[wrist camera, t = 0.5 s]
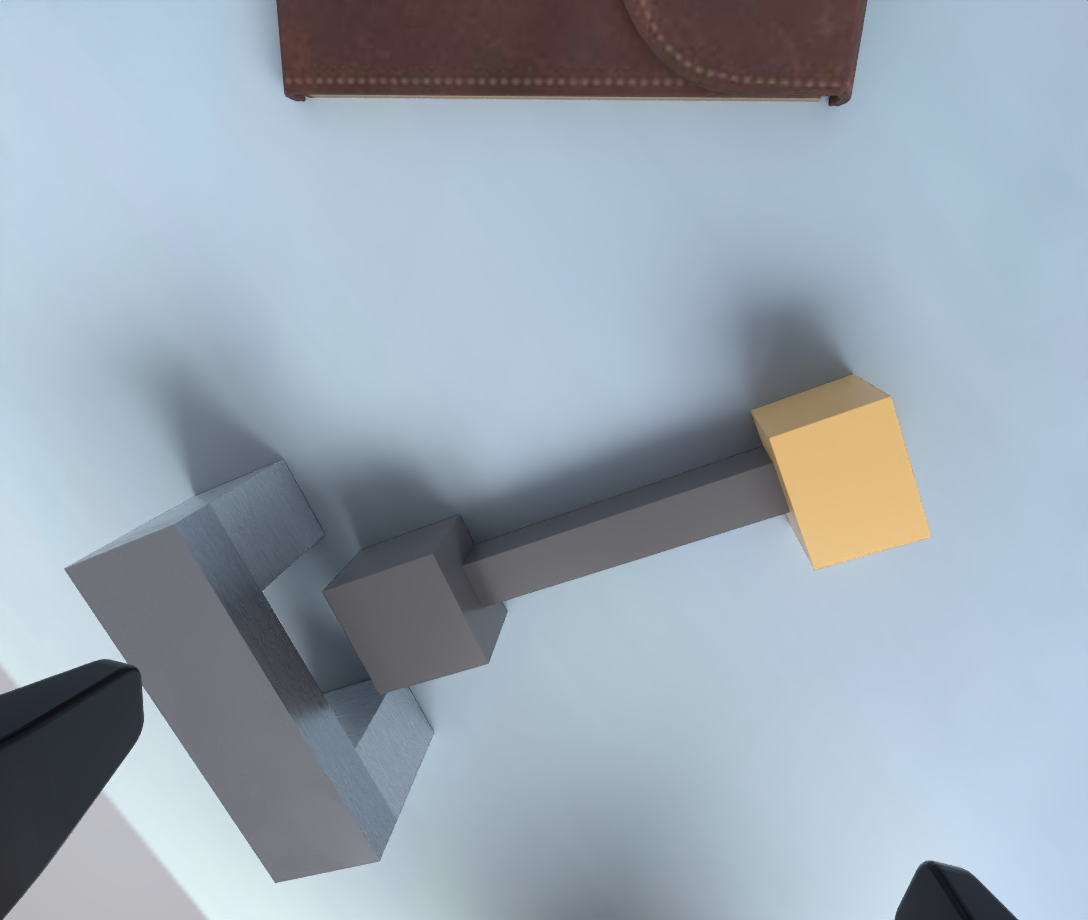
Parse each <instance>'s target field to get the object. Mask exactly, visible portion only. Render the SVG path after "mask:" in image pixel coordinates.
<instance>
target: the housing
mask: <svg viewBox="0 0 1088 920" xmlns="http://www.w3.org/2000/svg"><path fill="white" fill-rule="evenodd" d="M323 535H324V532H323V531H322V529H321V527H320V525H319V523H318V521H317V520H316V518H315V516H314V514H313V512H312V511H311V509H310V507H309V505H308V503H307V501H306V500H305V498H304V496H303V494H302V492H301V491H300V489H299V487H298V485H297V483H296V481H295V480H294V478H293V476H292V474H291V472H290V471H289V469H288V467H287V465H286V463H285V461H284V460H280V461H278V462H276V463H273V464H271V465H268V466H266V467H264V468H261V469H259V470H256V471H254V472H251V473H249V474H247V475H244V476H242V477H239V478H237V479H235V480H232V481H230V482H227V483H225V484H223V485H220V486H218V487H215V488H213V489H210V490H208V491H206V492H203V493H201V494H198V495H196V496H194V497H192V498H190V499H188V500H186V501H185V502H183V503H181V504H179V505H177V506H176V507H174V508H172V509H170V510H169V511H167V512H165V513H163V514H161V515H160V516H158V517H156V518H154V519H152V520H151V521H149V522H147V523H145V524H143V525H142V526H140V527H138V528H136V529H134V530H133V531H131V532H129V533H127V534H125V535H124V536H122V537H120V538H118V539H116V540H115V541H113V542H111V543H109V544H107V545H106V546H104V547H102V548H100V549H98V550H97V551H95V552H93V553H91V554H90V555H88V556H86V557H84V558H82V559H81V560H79V561H77V562H75V563H73V564H72V565H70V566H68V567H66V568H64V569H65V571H66V572H67V574H68V575H69V577H70V578H71V580H72V581H73V583H74V584H75V586H76V587H77V589H78V590H79V592H80V593H81V595H82V596H83V598H84V599H85V601H86V602H87V604H88V605H89V607H90V608H91V610H92V611H93V613H94V614H95V616H96V617H97V619H98V620H99V622H100V623H101V624H102V626H103V627H104V629H105V630H106V632H107V633H108V635H109V636H110V638H111V639H112V641H113V642H114V644H115V645H116V647H117V648H118V650H119V651H120V653H121V654H122V656H123V657H124V659H125V660H126V662H127V663H128V664H130V665H133V666H135V667H137V668H138V670H139V671H140V673H141V679H142V685H143V687H144V688H145V690H146V691H147V693H148V694H149V696H150V697H151V699H152V700H153V702H154V703H155V705H156V706H157V708H158V709H159V711H160V712H161V714H162V715H163V717H164V718H165V720H166V721H167V723H168V724H169V726H170V727H171V729H172V730H173V732H174V733H175V735H176V736H177V737H178V739H179V740H180V742H181V743H182V745H183V746H184V748H185V749H186V751H187V752H188V754H189V755H190V757H191V758H192V760H193V761H194V763H195V764H196V766H197V767H198V769H199V770H200V772H201V773H202V775H203V776H204V778H205V779H206V781H207V782H208V784H209V785H210V787H211V788H212V790H213V791H214V792H215V794H216V795H217V797H218V798H219V800H220V801H221V803H222V804H223V806H224V807H225V809H226V810H227V812H228V813H229V815H230V816H231V818H232V819H233V821H234V822H235V824H236V825H237V827H238V828H239V830H240V831H241V833H242V834H243V836H244V837H245V839H246V840H247V842H248V843H249V845H250V846H251V847H252V849H253V850H254V852H255V853H256V855H257V856H258V858H259V859H260V861H261V862H262V864H263V865H264V867H265V868H266V870H267V871H268V873H269V874H270V876H271V877H272V879H273V880H274V882H275V883H278V882H282V881H287V880H292V879H297V878H302V877H306V876H311V875H316V874H321V873H325V872H330V871H335V870H340V869H345V868H349V867H354V866H359V865H364V864H369V863H373V862H378V861H380V859H381V857H382V854H383V852H384V850H385V847H386V845H387V843H388V840H389V838H390V836H391V833H392V831H393V829H394V826H395V824H396V821H397V819H398V817H399V814H400V812H401V810H402V807H403V805H404V803H405V800H406V798H407V796H408V793H409V791H410V789H411V786H412V784H413V782H414V779H415V777H416V775H417V772H418V770H419V768H420V765H421V763H422V761H423V758H424V756H425V753H426V751H427V749H428V746H429V744H430V742H431V739H432V737H433V735H434V732H433V731H432V729H431V727H430V725H429V723H428V721H427V720H426V718H425V716H424V714H423V712H422V711H421V709H420V707H419V705H418V703H417V701H416V700H415V698H414V696H413V694H412V692H411V691H410V689H409V687H405V688H402V689H398V690H395V691H391V692H388V693H384V694H381V695H380V694H379V692H378V690H377V689H376V687H375V685H374V683H373V681H372V680H367V681H364V682H360V683H357V684H354V685H350V686H347V687H343V688H340V689H337V690H333V691H330V692H326V693H323V694H322V692H321V691H320V689H319V687H318V686H317V684H316V682H315V681H314V679H313V677H312V676H311V674H310V672H309V670H308V669H307V667H306V665H305V664H304V662H303V660H302V659H301V657H300V655H299V654H298V652H297V650H296V649H295V647H294V645H293V643H292V642H291V640H290V638H289V637H288V635H287V633H286V632H285V630H284V628H283V627H282V625H281V623H280V621H279V620H278V618H277V616H276V615H275V613H274V611H273V610H272V608H271V606H270V605H269V603H268V601H267V599H266V598H265V596H264V594H263V593H262V590H264V589H265V588H266V587H267V586H268V585H269V584H270V583H271V582H272V581H274V580H275V579H276V578H277V577H278V576H279V575H280V574H281V573H282V572H283V571H285V570H286V569H287V568H288V567H289V566H290V565H291V564H292V563H293V562H295V561H296V560H297V559H298V558H299V557H300V556H301V555H302V554H303V553H304V552H306V551H307V550H308V549H309V548H310V547H311V546H312V545H313V544H314V543H315V542H317V541H318V540H319V539H320V538H321V537H322V536H323Z"/></svg>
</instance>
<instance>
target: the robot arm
mask: <svg viewBox="0 0 1088 920" xmlns="http://www.w3.org/2000/svg"><path fill="white" fill-rule="evenodd" d="M143 723H144V712H143V695H142V679H141V673H140V671H139V670H138V668H137V667H135V666H133V665H130V664H126V663H122V662H118V661H113V660H109V659H102V660H97V661H94V662H91V663H88V664H85V665H83V666H80V667H77V668H74V669H71V670H69V671H66V672H63V673H60V674H57V675H55V676H52V677H49V678H46V679H43V680H41V681H38V682H35V683H32V684H29V685H27V686H24V687H21V688H18V689H15V690H13V691H10V692H7V693H5V694H1V695H0V920H3V919H4V918H5V916H6V915H7V914H8V913H9V912H10V910H11V909H12V908H13V907H14V906H15V905H16V903H17V902H18V901H19V899H21V897H22V896H23V895H24V894H25V893H26V891H27V890H28V889H29V888H30V887H31V885H32V884H33V883H34V882H35V880H36V879H37V878H38V877H39V876H40V874H41V873H42V872H43V870H44V869H45V868H46V867H47V865H48V864H49V863H50V861H51V860H52V859H53V857H54V856H55V855H56V853H57V852H58V851H59V849H60V848H61V847H62V845H63V844H64V842H65V841H66V840H67V838H68V837H69V835H70V834H71V833H72V831H73V830H74V828H75V827H76V826H77V824H78V823H79V821H80V820H81V819H82V817H83V816H84V814H85V813H86V812H87V810H88V809H89V808H90V806H91V805H92V803H93V802H94V801H95V799H96V798H97V796H98V795H99V794H100V792H101V791H102V789H103V788H104V787H105V785H106V784H107V782H108V781H109V780H110V778H111V777H112V775H113V774H114V773H115V771H116V770H117V769H118V767H119V766H120V764H121V763H122V762H123V760H124V759H125V757H126V756H127V755H128V753H129V752H130V750H131V749H132V748H133V746H134V745H135V743H136V742H137V740H138V738H139V736H140V734H141V731H142V728H143ZM895 920H1018V919H1017V918H1016V917H1015V916H1014V915H1013V914H1012V913H1011V912H1010V911H1009V910H1008V909H1007V908H1006V907H1005V906H1004V905H1003V904H1002V903H1001V902H1000V901H999V900H998V899H997V898H996V897H995V896H994V895H993V894H992V893H991V892H990V891H989V890H988V889H987V888H986V887H985V886H984V885H983V884H982V883H981V882H980V881H979V880H978V879H977V878H976V877H975V876H974V875H973V874H971V873H970V872H969V871H967V870H965V869H963V868H960V867H956V866H952V865H948V864H944V863H939V862H935V861H925V862H923V863H922V864H920V866H919V867H918V869H917V871H916V873H915V875H914V877H913V879H912V881H911V883H910V885H909V887H908V889H907V891H906V893H905V895H904V897H903V899H902V901H901V903H900V905H899V907H898V909H897V912H896V916H895Z"/></svg>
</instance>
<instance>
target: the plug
mask: <svg viewBox="0 0 1088 920" xmlns="http://www.w3.org/2000/svg"><path fill="white" fill-rule="evenodd" d="M751 413H752V416H753V419H754V422H755V425H756V428H757V430H758V433H759V436H760V439H761V442H762V445H763V446H762V447H759V448H756V449H753V450H750V451H747V452H744V453H741V454H738V455H735V456H732V457H729V458H726V459H723V460H721V461H718V462H715V463H712V464H709V465H706V466H703V467H700V468H697V469H694V470H691V471H688V472H685V473H682V474H679V475H677V476H674V477H671V478H668V479H665V480H662V481H659V482H656V483H653V484H650V485H647V486H644V487H641V488H638V489H636V490H633V491H630V492H627V493H624V494H621V495H618V496H615V497H612V498H609V499H606V500H603V501H600V502H597V503H594V504H592V505H589V506H586V507H583V508H580V509H577V510H574V511H571V512H568V513H565V514H562V515H559V516H556V517H553V518H551V519H548V520H545V521H542V522H539V523H536V524H533V525H530V526H527V527H524V528H521V529H518V530H515V531H512V532H509V533H507V534H504V535H501V536H498V537H495V538H492V539H489V540H486V541H483V542H480V543H477V544H474V542H473V540H472V538H471V536H470V534H469V532H468V530H467V528H466V526H465V524H464V522H463V520H462V518H461V515H460V514H459V515H456V516H453V517H451V518H448V519H445V520H442V521H439V522H437V523H434V524H431V525H428V526H425V527H423V528H420V529H417V530H414V531H411V532H409V533H406V534H403V535H400V536H397V537H395V538H392V539H389V540H386V541H383V542H381V543H378V544H375V545H372V546H369V547H367V548H364V549H361V550H360V552H359V553H358V554H357V555H356V556H355V557H354V558H353V559H352V560H351V561H350V562H349V563H348V564H347V565H346V567H345V568H344V569H343V570H342V571H341V572H340V573H339V574H338V575H337V576H336V577H335V578H334V579H333V581H332V582H331V583H330V584H329V585H328V586H327V587H326V588H325V589H324V590H323V591H322V593H323V595H324V596H325V598H326V600H327V602H328V603H329V605H330V607H331V609H332V611H333V612H334V614H335V616H336V618H337V619H338V621H339V623H340V625H341V626H342V628H343V630H344V632H345V634H346V635H347V637H348V639H349V641H350V642H351V644H352V646H353V648H354V650H355V651H356V653H357V655H358V657H359V658H360V660H361V662H362V664H363V665H364V667H365V669H366V671H367V673H368V674H369V676H370V678H371V680H372V681H373V683H374V685H375V687H376V689H377V690H378V692H379V694H380V695H381V694H384V693H388V692H391V691H395V690H398V689H402V688H405V687H409V686H412V685H416V684H419V683H422V682H426V681H429V680H433V679H436V678H440V677H443V676H447V675H450V674H454V673H457V672H461V671H464V670H468V669H471V668H475V667H478V666H482V665H485V664H488V663H489V661H490V658H491V655H492V653H493V650H494V647H495V644H496V642H497V639H498V636H499V634H500V631H501V628H502V626H503V623H504V620H505V617H506V615H507V610H506V608H505V606H504V604H503V601H506V600H509V599H512V598H515V597H519V596H522V595H525V594H528V593H531V592H535V591H538V590H541V589H544V588H547V587H551V586H554V585H557V584H560V583H564V582H567V581H570V580H573V579H576V578H580V577H583V576H586V575H589V574H592V573H596V572H599V571H602V570H605V569H608V568H612V567H615V566H618V565H621V564H624V563H628V562H631V561H634V560H637V559H640V558H644V557H647V556H650V555H653V554H657V553H660V552H663V551H666V550H669V549H673V548H676V547H679V546H682V545H685V544H689V543H692V542H695V541H698V540H701V539H705V538H708V537H711V536H714V535H717V534H721V533H724V532H727V531H730V530H733V529H737V528H740V527H743V526H746V525H750V524H753V523H756V522H759V521H762V520H766V519H769V518H772V517H775V516H778V515H782V514H785V513H786V514H787V517H788V520H789V523H790V525H791V527H792V529H793V531H794V533H795V535H796V537H797V538H798V540H799V542H800V544H801V546H802V548H803V550H804V552H805V553H806V555H807V557H808V559H809V561H810V563H811V565H812V566H813V568H814V570H817V569H821V568H824V567H828V566H831V565H835V564H838V563H842V562H845V561H849V560H852V559H856V558H859V557H863V556H866V555H870V554H873V553H877V552H880V551H884V550H887V549H891V548H894V547H898V546H901V545H905V544H908V543H912V542H915V541H919V540H922V539H926V538H929V537H932V536H931V533H930V529H929V526H928V522H927V519H926V515H925V512H924V509H923V505H922V502H921V498H920V495H919V491H918V488H917V484H916V481H915V477H914V474H913V470H912V467H911V463H910V460H909V457H908V453H907V450H906V446H905V443H904V439H903V436H902V432H901V429H900V425H899V422H898V418H897V415H896V411H895V408H894V405H893V401H892V398H891V396H890V395H888V394H886V393H885V392H883V391H881V390H880V389H878V388H876V387H875V386H873V385H871V384H869V383H868V382H866V381H864V380H863V379H861V378H859V377H858V376H856V375H854V374H851V375H848V376H846V377H843V378H840V379H837V380H834V381H832V382H829V383H826V384H823V385H820V386H818V387H815V388H812V389H809V390H806V391H804V392H801V393H798V394H795V395H792V396H790V397H787V398H784V399H781V400H778V401H776V402H773V403H770V404H767V405H764V406H762V407H759V408H756V409H753V410H751Z"/></svg>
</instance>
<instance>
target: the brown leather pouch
mask: <svg viewBox="0 0 1088 920" xmlns="http://www.w3.org/2000/svg"><path fill="white" fill-rule="evenodd" d="M276 1H277V13H278V25H279V36H280V48H281V59H282V71H283V83H284V94H285V96H286V97H288V98H290V99H292V100H295V101H305V96H307V97H311V98H435V99H558V100H682V101H806V102H819V101H820V99H821V98H822V97H824V96H830V98H829V106H840V105H842V104H845V103H847V102H848V101H849V100H850V99H851V95H852V89H853V83H854V77H855V71H856V65H857V59H858V53H859V47H860V41H861V35H862V29H863V23H864V17H865V11H866V5H867V0H276Z"/></svg>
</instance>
